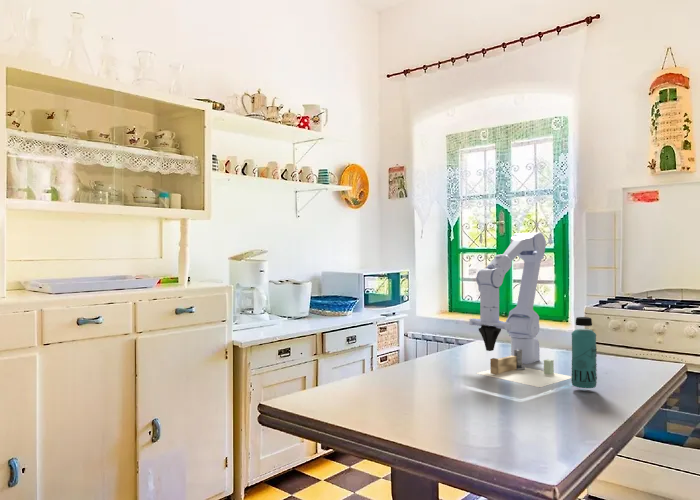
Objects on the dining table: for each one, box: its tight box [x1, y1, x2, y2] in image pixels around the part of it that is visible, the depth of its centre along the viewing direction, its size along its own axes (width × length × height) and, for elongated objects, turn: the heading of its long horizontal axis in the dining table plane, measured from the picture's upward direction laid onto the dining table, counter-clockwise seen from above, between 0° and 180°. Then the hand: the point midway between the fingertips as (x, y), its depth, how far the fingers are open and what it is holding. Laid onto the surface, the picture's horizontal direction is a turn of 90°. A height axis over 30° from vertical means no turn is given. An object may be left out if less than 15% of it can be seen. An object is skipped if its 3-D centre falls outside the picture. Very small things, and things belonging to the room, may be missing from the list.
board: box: [476, 367, 572, 388], centre depth 164 cm, size 18×22×1 cm
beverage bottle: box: [570, 316, 598, 389], centre depth 149 cm, size 6×7×20 cm
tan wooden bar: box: [490, 355, 516, 374], centre depth 168 cm, size 11×2×4 cm, turn 128°
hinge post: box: [514, 349, 525, 370], centre depth 172 cm, size 4×4×7 cm
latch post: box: [543, 358, 555, 374], centre depth 166 cm, size 2×2×5 cm
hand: (489, 350), depth 172 cm, fingers closed
